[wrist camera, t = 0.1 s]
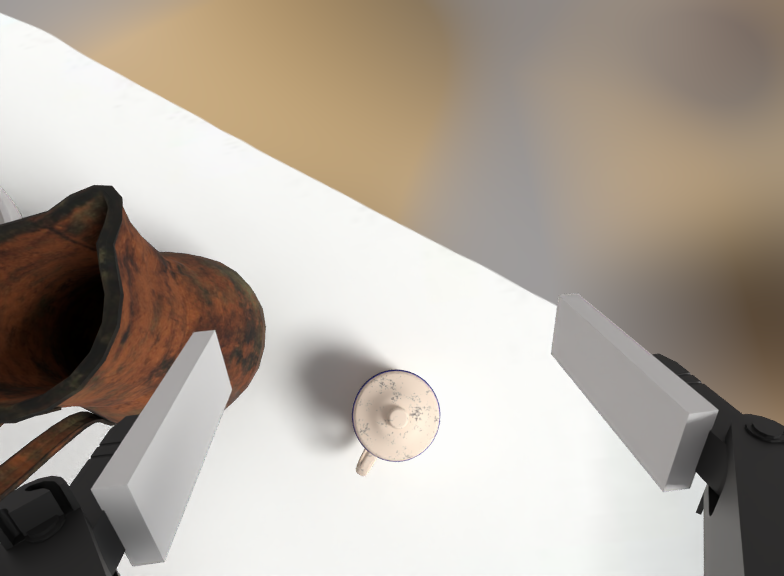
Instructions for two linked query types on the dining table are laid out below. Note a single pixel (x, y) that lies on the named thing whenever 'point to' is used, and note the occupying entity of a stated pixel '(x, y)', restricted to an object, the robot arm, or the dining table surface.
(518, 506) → the dining table surface
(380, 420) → the teacup with lid
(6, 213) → the bowl
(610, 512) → the dining table surface
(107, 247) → the pitcher
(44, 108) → the dining table surface
